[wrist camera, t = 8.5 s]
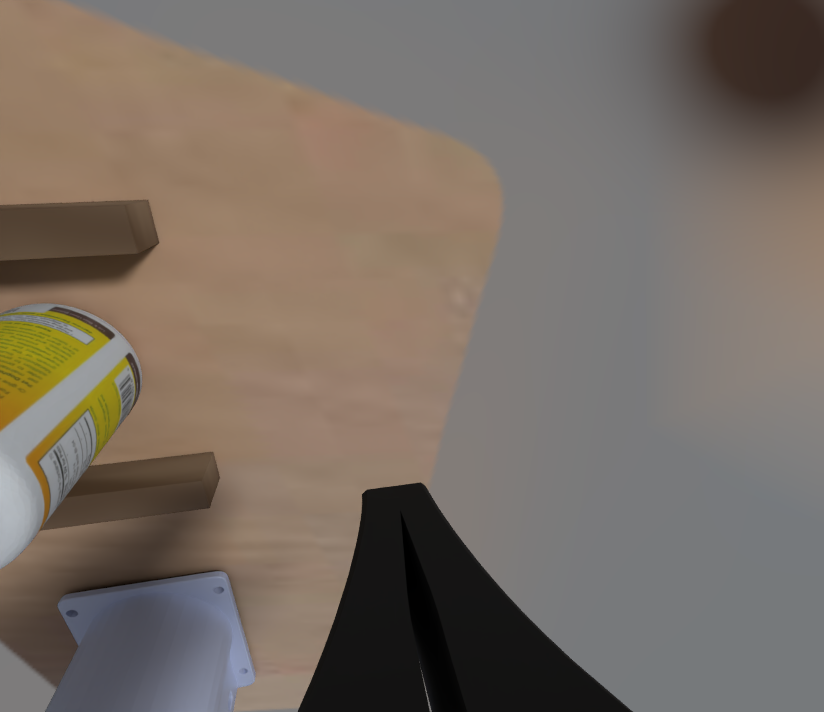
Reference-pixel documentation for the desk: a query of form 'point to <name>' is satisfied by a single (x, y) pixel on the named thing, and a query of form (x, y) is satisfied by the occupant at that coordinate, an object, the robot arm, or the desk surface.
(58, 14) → the desk surface
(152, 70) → the desk surface
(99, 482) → the wooden u-shaped block
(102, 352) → the supplement bottle
